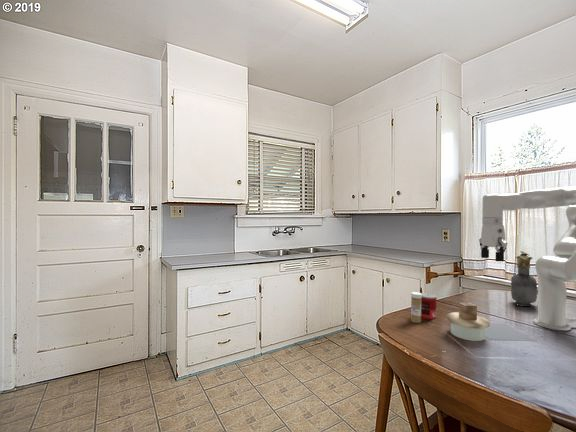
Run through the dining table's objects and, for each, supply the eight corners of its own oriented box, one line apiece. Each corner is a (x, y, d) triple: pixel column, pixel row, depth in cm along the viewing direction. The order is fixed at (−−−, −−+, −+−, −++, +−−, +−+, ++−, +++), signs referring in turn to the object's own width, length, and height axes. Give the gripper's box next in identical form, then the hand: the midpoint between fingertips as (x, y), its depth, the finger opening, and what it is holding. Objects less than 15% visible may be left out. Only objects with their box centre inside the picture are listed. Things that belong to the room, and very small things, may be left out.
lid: (474, 315, 126) (475, 299, 126) (498, 328, 111) (498, 310, 111) (440, 314, 127) (440, 298, 127) (459, 328, 112) (459, 309, 112)
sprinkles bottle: (409, 321, 134) (409, 293, 134) (412, 319, 138) (412, 291, 138) (419, 324, 131) (420, 295, 131) (422, 321, 135) (422, 292, 135)
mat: (504, 324, 131) (504, 323, 131) (536, 342, 113) (536, 340, 113) (464, 323, 132) (464, 322, 132) (490, 341, 114) (490, 339, 114)
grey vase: (511, 306, 156) (512, 252, 156) (509, 298, 172) (510, 248, 171) (538, 310, 150) (538, 253, 150) (533, 301, 165) (534, 250, 165)
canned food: (435, 315, 143) (435, 293, 143) (437, 321, 135) (437, 297, 135) (418, 313, 145) (418, 292, 145) (420, 319, 138) (420, 296, 138)
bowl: (473, 330, 125) (473, 316, 125) (491, 342, 113) (492, 327, 113) (445, 329, 125) (445, 315, 125) (460, 341, 113) (461, 326, 113)
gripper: (515, 222, 120) (515, 262, 120) (488, 221, 137) (487, 256, 138) (497, 222, 120) (496, 262, 121) (472, 221, 138) (472, 256, 138)
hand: (492, 259), depth 129 cm, fingers open, 9 cm apart
